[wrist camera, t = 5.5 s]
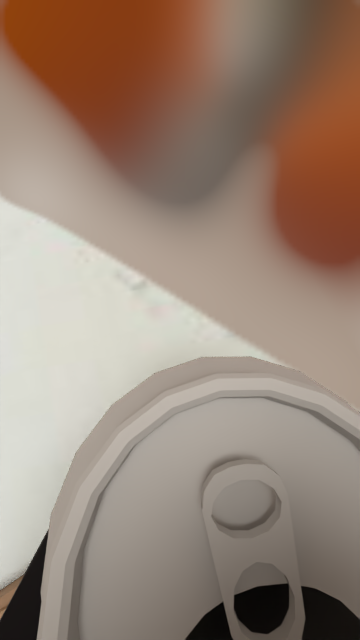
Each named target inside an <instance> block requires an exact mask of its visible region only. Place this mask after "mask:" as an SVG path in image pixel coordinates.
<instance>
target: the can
mask: <svg viewBox="0 0 360 640" xmlns="http://www.w3.org/2000/svg"><path fill="white" fill-rule="evenodd" d="M41 600H42V603H41V610H40V618H39V626H38V633H37V640H360V412H358V411H357V410H355V409H354V408H352V407H351V406H350V405H349V404H348V403H347V402H346V401H345V400H344V399H342V398H341V397H339V396H337V395H336V394H334V393H333V392H331V391H330V390H328V389H326V388H325V387H323V386H322V385H320V384H319V383H317V382H316V381H314V380H312V379H311V378H309V377H308V376H306V375H305V374H303V373H301V372H300V371H297V370H294V369H291V368H287V367H284V366H280V365H277V364H274V363H270V362H267V361H264V360H260V359H257V358H254V357H201V358H198V359H195V360H192V361H189V362H186V363H183V364H180V365H177V366H174V367H171V368H168V369H165V370H163V371H160V372H157V373H154V374H153V375H152V376H150V377H149V378H148V379H146V380H145V381H144V382H142V383H141V384H139V385H138V386H137V387H135V388H134V389H133V390H131V391H130V392H129V393H127V394H126V395H124V396H123V397H122V398H120V399H119V400H118V401H116V402H115V403H114V404H112V405H111V407H110V408H109V409H108V411H107V412H106V413H105V415H104V416H103V417H102V419H101V420H100V421H99V423H98V424H97V425H96V427H95V428H94V429H93V431H92V432H91V433H90V434H89V436H88V437H87V438H86V440H85V441H84V442H83V444H82V445H81V446H80V448H79V449H78V450H77V452H76V454H75V456H74V459H73V461H72V464H71V466H70V469H69V471H68V474H67V476H66V479H65V481H64V484H63V486H62V489H61V491H60V494H59V496H58V498H57V501H56V503H55V506H54V508H53V511H52V513H51V517H50V525H49V532H48V540H47V548H46V555H45V563H44V570H43V578H42V586H41Z"/></svg>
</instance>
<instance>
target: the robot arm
mask: <svg viewBox="0 0 360 640" xmlns="http://www.w3.org/2000/svg"><path fill="white" fill-rule="evenodd" d="M48 532H49V529H48V531H47V533H46V535H45V537H44V538H43V540H42V542H41V544H40V546H39V548H38V550H37V552H36V553H35V555H34V557H33V559H32V561H31V563H30V565H29V566H28V568H27V570H26V572H25V574H24V576H23V578H22V580H21V581H20V583H19V585H18V587H17V589H16V591H15V593H14V595H13V596H12V598H11V600H10V602H9V604H8V606H7V608H6V609H5V611H4V613H3V615H2V617H1V619H0V640H37V633H38V626H39V618H40V610H41V603H42V600H41V586H42V578H43V570H44V563H45V555H46V548H47V540H48Z"/></svg>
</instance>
